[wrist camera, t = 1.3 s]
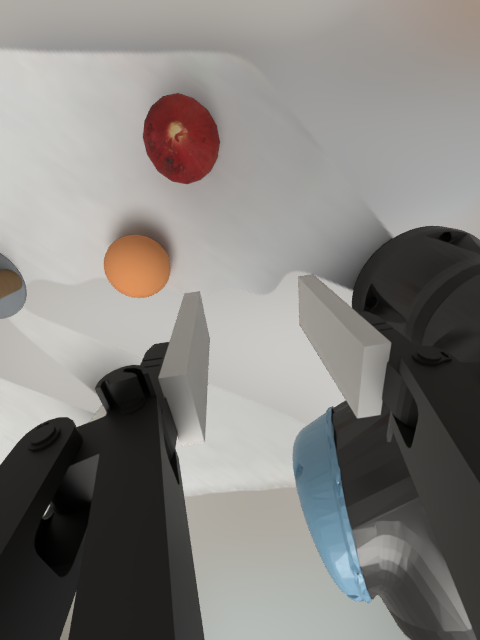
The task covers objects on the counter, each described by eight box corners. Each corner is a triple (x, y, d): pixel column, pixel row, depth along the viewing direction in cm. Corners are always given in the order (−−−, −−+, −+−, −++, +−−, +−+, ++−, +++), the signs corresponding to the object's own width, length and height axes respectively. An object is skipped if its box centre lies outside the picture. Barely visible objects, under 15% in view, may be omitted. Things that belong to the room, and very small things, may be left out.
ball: (185, 257, 29) (178, 272, 23) (153, 296, 30) (139, 319, 25) (137, 217, 26) (117, 224, 21) (105, 262, 28) (79, 279, 23)
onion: (198, 196, 26) (191, 199, 19) (143, 158, 24) (113, 145, 17) (230, 138, 24) (236, 117, 17) (173, 92, 22) (153, 46, 15)
